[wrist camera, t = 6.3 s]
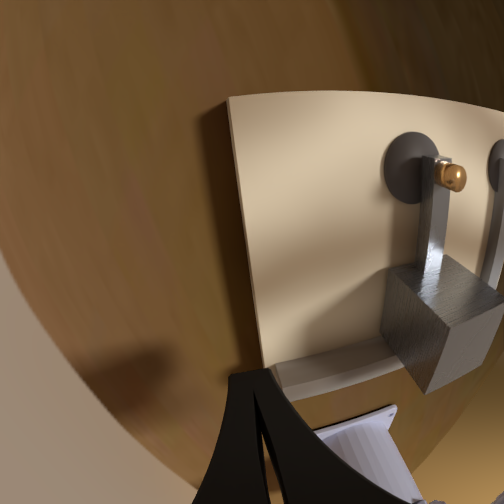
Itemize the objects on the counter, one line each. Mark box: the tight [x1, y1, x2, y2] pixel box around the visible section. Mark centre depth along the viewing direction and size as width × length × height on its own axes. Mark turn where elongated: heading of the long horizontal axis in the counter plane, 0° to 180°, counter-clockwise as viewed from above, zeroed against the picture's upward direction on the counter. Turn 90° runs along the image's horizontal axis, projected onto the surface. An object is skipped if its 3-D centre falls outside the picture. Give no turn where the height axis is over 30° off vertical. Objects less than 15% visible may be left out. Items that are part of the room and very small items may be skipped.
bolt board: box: [226, 91, 504, 402], centre depth 12 cm, size 14×16×3 cm
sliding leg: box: [379, 155, 504, 395], centre depth 10 cm, size 8×4×4 cm, turn 7°
